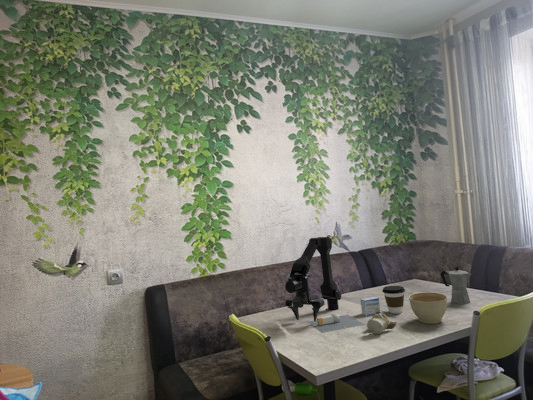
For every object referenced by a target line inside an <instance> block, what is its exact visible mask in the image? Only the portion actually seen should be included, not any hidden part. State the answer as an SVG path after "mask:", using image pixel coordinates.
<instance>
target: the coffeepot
mask: <svg viewBox="0 0 533 400" xmlns="http://www.w3.org/2000/svg"><path fill="white" fill-rule="evenodd" d="M439 274H440V277H441V279H442V281H443V284H444V286H445V287H450V285H451V298H450V299H451V303H453V304H457V305H464V304H470V303H471V299H470V297H469V296H470V295H469V292H468V289H467V286H468V280H469V279H470V277H471V275H472V273H470V272H467V271H466V270H461V269H459V266H455V270H442V271H441V272H440V273H439ZM445 275H446V276H447V275H448V277H449V281H450V284H448V282H447V279H446V277H445Z"/></svg>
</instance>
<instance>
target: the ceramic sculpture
mask: <svg viewBox="0 0 533 400" xmlns="http://www.w3.org/2000/svg"><path fill="white" fill-rule="evenodd" d="M396 324H397V321H390V320H389V319H388V316H387V315H386V314H385V313H381V311H380V312H376V313H375V314H373V315H372V317H371V318H370V319H368V321H367V323H366V328H367V330H368V331H369V332H370V333H371V334H374V335H381V334H382V333H383V331H385V330H386V329H393V328H394V327H395V326H396Z"/></svg>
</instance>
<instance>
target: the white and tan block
mask: <svg viewBox="0 0 533 400" xmlns="http://www.w3.org/2000/svg"><path fill="white" fill-rule="evenodd" d="M339 316H340V314H339V313H332V314H330V315H327V316H317V318H316V320H317V324H318V325H323V324H328V323H334V322H335V323H336V322H340V318H339Z"/></svg>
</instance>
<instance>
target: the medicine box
mask: <svg viewBox="0 0 533 400" xmlns="http://www.w3.org/2000/svg"><path fill="white" fill-rule="evenodd" d="M360 308H361V314H362V315H363V316H366V317H368V316H373V315H374V314H375V313H376V312H380V313H381V307H380V299H379V297H377V296H371V297H366V298H365V297H364V298H360Z"/></svg>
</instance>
